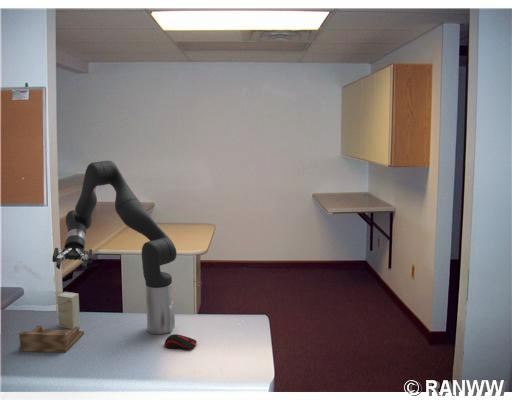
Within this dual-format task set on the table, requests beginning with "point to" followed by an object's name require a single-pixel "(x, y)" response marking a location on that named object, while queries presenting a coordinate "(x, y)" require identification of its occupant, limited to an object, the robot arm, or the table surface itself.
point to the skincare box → (68, 310)
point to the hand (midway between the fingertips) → (71, 267)
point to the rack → (49, 339)
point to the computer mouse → (179, 342)
